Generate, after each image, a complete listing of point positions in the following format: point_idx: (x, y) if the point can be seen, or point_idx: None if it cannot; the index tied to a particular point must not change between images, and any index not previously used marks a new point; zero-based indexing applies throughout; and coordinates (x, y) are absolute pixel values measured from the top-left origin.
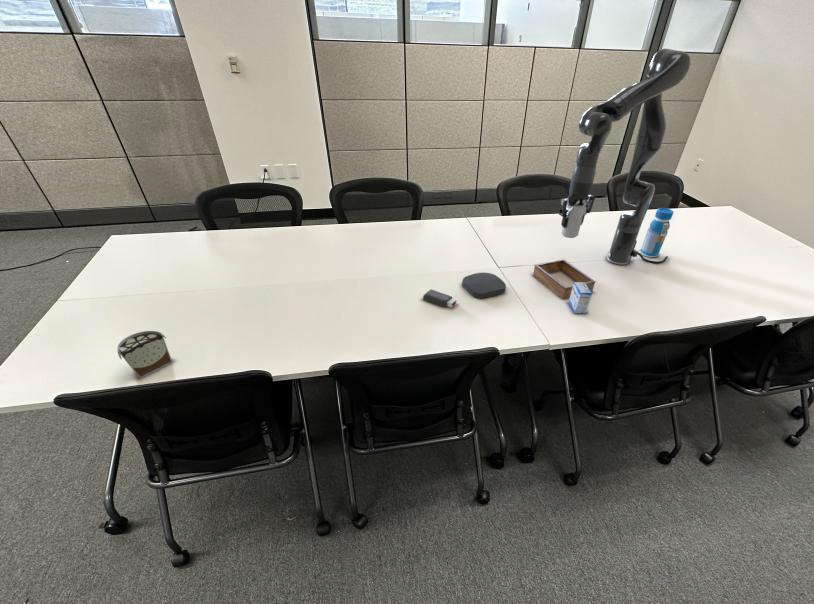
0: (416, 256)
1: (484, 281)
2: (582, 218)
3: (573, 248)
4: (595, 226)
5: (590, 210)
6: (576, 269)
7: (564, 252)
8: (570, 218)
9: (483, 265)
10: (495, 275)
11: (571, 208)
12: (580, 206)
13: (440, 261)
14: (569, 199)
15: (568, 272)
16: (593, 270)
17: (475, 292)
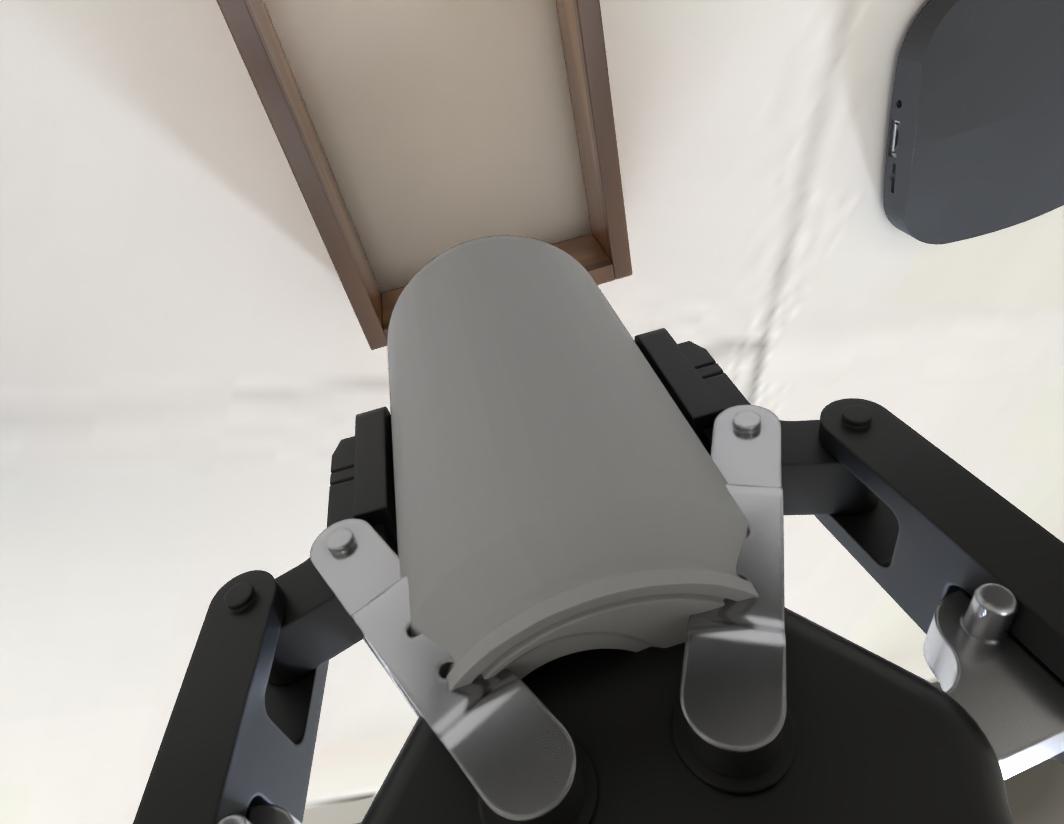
0: (1051, 453)
1: (1044, 101)
2: (373, 479)
3: (208, 555)
4: (11, 766)
5: (213, 623)
6: (311, 165)
7: (283, 511)
8: (674, 403)
9: (827, 370)
10: (911, 192)
11: (783, 547)
12: (625, 587)
13: (993, 411)
14: (985, 747)
15: (349, 224)
16: (103, 280)
17: None
